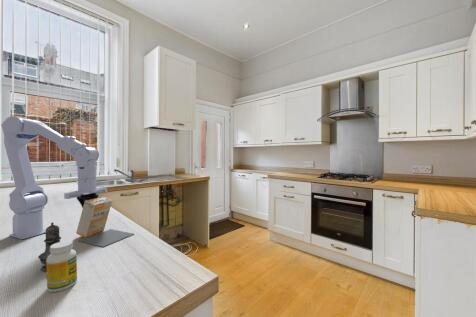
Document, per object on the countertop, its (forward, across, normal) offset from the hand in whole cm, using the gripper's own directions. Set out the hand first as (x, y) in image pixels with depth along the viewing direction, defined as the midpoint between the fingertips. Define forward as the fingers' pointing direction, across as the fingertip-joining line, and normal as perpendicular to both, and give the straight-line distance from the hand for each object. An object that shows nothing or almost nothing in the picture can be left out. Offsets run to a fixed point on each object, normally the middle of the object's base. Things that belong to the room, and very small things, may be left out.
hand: (88, 214), depth 81 cm
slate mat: (+8, 0, -11) cm, 13 cm away
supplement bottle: (+8, -23, -28) cm, 37 cm away
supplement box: (+7, 0, -1) cm, 7 cm away
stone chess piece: (+8, -19, -16) cm, 26 cm away
